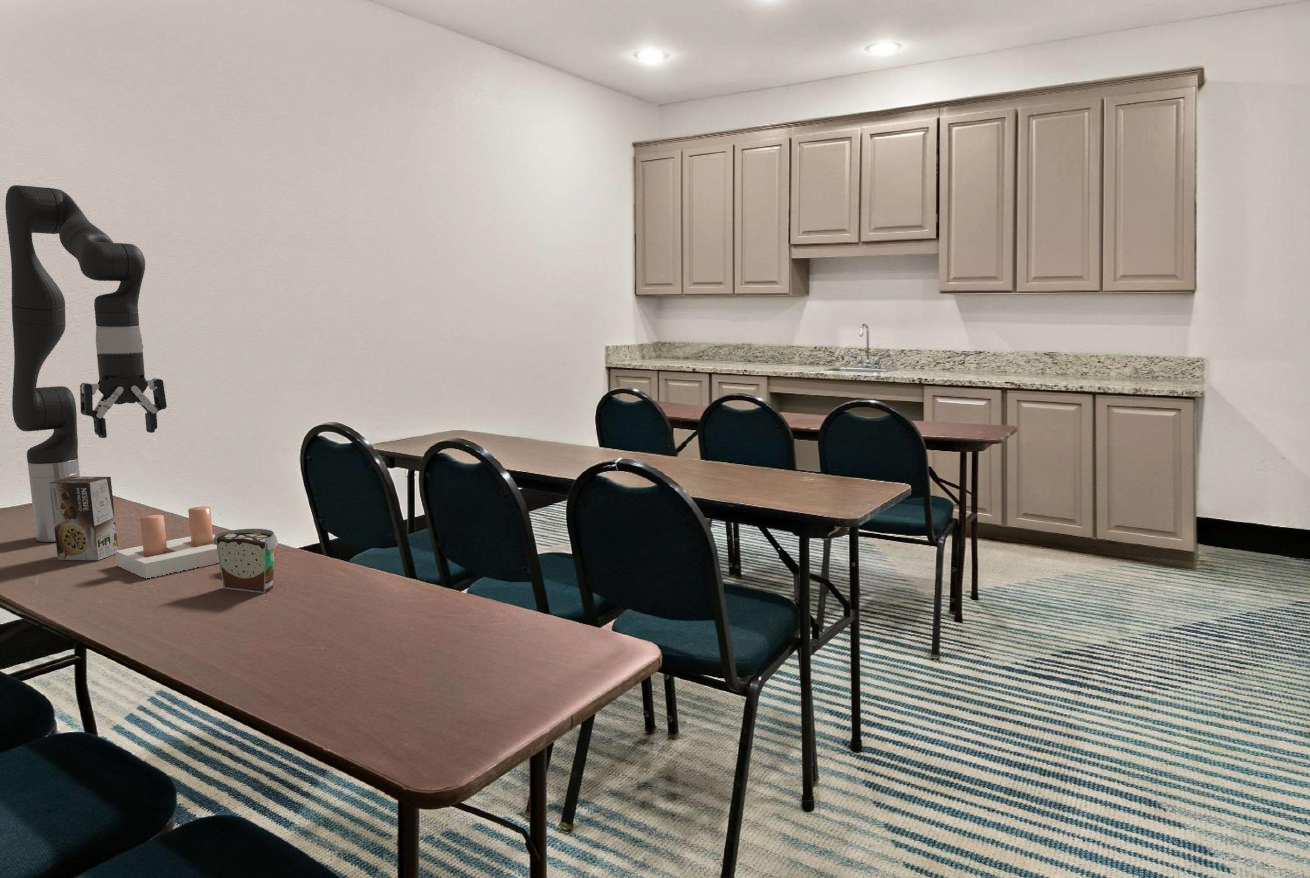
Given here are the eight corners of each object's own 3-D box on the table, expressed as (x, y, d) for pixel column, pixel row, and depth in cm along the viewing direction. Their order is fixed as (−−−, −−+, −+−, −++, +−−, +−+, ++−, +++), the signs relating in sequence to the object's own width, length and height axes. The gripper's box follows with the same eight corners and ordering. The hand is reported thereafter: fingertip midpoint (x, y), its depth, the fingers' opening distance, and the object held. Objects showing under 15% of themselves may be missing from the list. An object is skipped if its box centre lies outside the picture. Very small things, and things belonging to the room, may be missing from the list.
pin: (141, 567, 174) (136, 517, 172) (163, 562, 177) (158, 513, 175) (150, 571, 171) (145, 520, 170) (171, 566, 174) (167, 516, 173)
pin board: (117, 565, 175) (112, 516, 173) (210, 546, 189) (206, 500, 187) (146, 579, 166) (141, 526, 165) (241, 557, 180) (238, 509, 178)
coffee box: (120, 552, 184) (112, 476, 182) (98, 561, 178) (89, 482, 176) (79, 551, 185) (71, 475, 183) (55, 560, 179) (47, 481, 176)
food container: (296, 584, 163) (292, 530, 161) (271, 594, 157) (267, 539, 156) (242, 577, 167) (238, 525, 165) (217, 587, 161) (212, 533, 160)
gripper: (151, 347, 176) (157, 428, 179) (69, 350, 165) (77, 437, 168) (168, 349, 172) (174, 432, 174) (85, 353, 161) (93, 441, 163)
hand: (127, 434), depth 171 cm, fingers open, 8 cm apart
